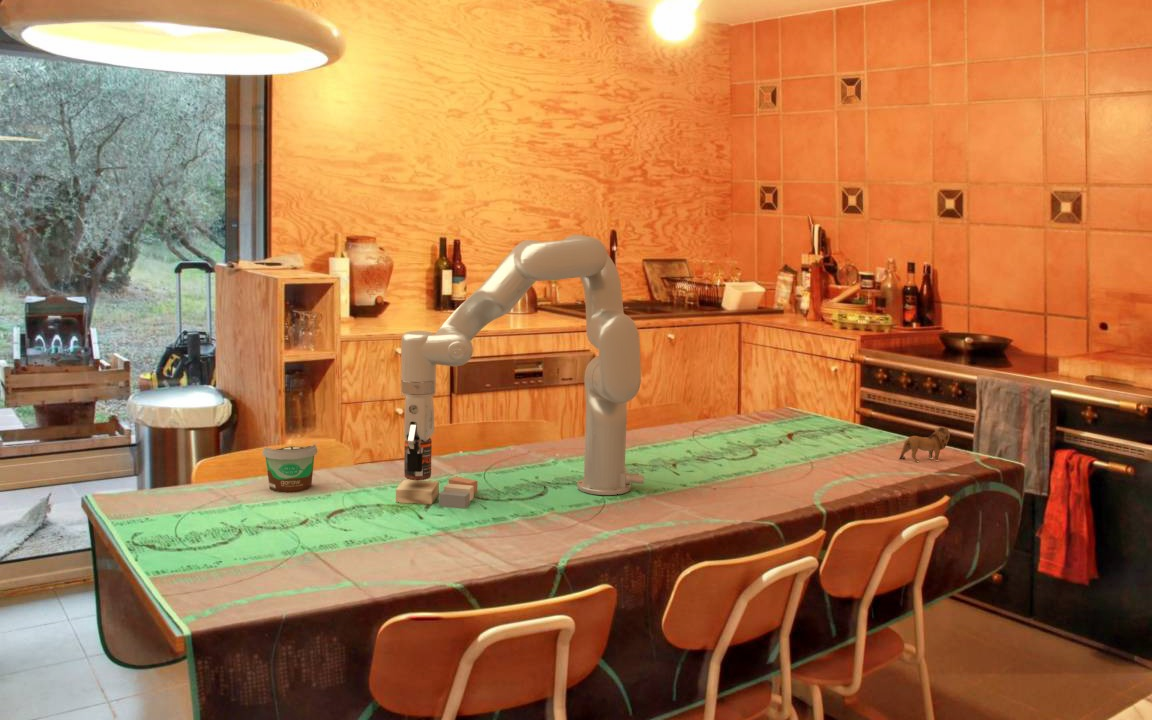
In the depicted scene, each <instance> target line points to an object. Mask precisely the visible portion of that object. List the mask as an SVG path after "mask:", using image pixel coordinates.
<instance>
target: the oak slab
mask: <svg viewBox="0 0 1152 720" xmlns="http://www.w3.org/2000/svg"><path fill="white" fill-rule="evenodd" d="M439 491H440V481H439V480H438V481H437V480H436V481H433V480H410V479H403V480H402V481H401V483H399V485H398V486H397V487H396V489H395V503H396V502H397V503H398V502H399V504H413V503H417V504H419V505H433V503H434V501H436V499H437V498H438V497H439V493H440V492H439ZM417 504H416V505H417Z"/></svg>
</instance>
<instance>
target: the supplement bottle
mask: <svg viewBox="0 0 1152 720" xmlns="http://www.w3.org/2000/svg"><path fill="white" fill-rule="evenodd" d="M415 439H417V440H419V437H415ZM415 444H417V446H418V443H415ZM407 450H408V441H407V440H406V439H405V438H404V462H403V463H404V468H403V469H404V473H403V474H404V477H405V478H406V480H419V481H427V480H428V479H430V478H431V476H432V450H433V449H432V438H431V437H430V438H429V439H428V440H427V441H423V440H422V444H421V454H422V471H421V472H413V471H408V470H407Z"/></svg>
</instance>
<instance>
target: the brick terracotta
mask: <svg viewBox="0 0 1152 720" xmlns="http://www.w3.org/2000/svg"><path fill="white" fill-rule="evenodd" d="M478 483H479V481H478V480H476V479H471V478H467V477H461V476H454V477H452V478H449V479H448V484H459V485H470V486H474V495H475V494H478V490H479V489H478V488H479V487H478Z"/></svg>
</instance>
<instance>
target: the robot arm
mask: <svg viewBox="0 0 1152 720" xmlns="http://www.w3.org/2000/svg"><path fill="white" fill-rule="evenodd" d="M576 278H579V279H580V281H581V283H582V286H583V287H582V288H583V292H584V293H583V294H584V300H585V321H586V322H585V323H586V326H585V327H586V336H587V340H588V341H589V342H590V344H591V345H592V346H593V347H594V348H596V349H597V350H598V355H597V356H594V357H593V358H592V359H591V360H590V361H589V362H588V364H587V366H586V368H585V371H584V380H583V382H584V393H585V431H584V432H585V434H584V435H585V436H584V465H583V467H584V469H583V478H582V479H580V480H578V481H577V484H576V487H577V489H578V490H580V492H583V493H586V494H591V495H595V496H596V495H599V496H616V495H617V494H618V495H622V494H626V493H629V492H630V491H631V489H632V487H631V486H632V484H637V485H639V484H640V485H644V482H645V481H644V480H645V479H644V478H645V475H640V474H639V473H630V472H629V471H628V472H627V467H626V450H627V449H626V447H627V423H628V420H627V419H628V409H627V407H628V405H627V403H628V402H631V400H633V399H634V398H635V397H636V396H637V394H638V393H639V391H640V387H641V382H642V366H641V364H642V363H641V345H640V344H641V342H640V339H641V338H640V334H639V329H638V327H637V324H636V323H635V321H634V320H633V319H632V318H631V317H630V316H629V315H627V314H625V312H624V305H623V304H624V303H623V302H624V301H623V293H622V284H621V283H622V281H621V278H620V274H619V270H618V269H617V267H616V264H615V263H614V261H613V259H612V258H611V257H610V255H609V254H608V250H607V248H606V245H605V244H604V243H603V242H602V241H601V240H600V239H598V238H596V237H593V236H587V235H584V234H571V235H569V236H566V237H565V238H564V239H563V240H561V239H560V240H551V241H546V240H545V241H539V240H534V239H525V240H523V241H520V242H519V243H518V244H516V246H514V248H513V249H512V250H511V251H510V252H509V253H508V255H506V256H505V258H504V259H503V260H502V261H501V262H500V264H499V265H498V266H497V267H496V268H495V269H494V270H493V272H492V273H491V274H490V275H489V276H488V277H487V278H486V279H485V280H484V282H483V283H482V284H481V285H480V286H479V287H478V288H477V289H476V290H475V291H474V292H472V293H471V295H470V296H468V297H467V298H466V299H465V300H464V301H463V302H462V303H461V304H460V305H459V306H458V307H457V308H456V309H454V311H453V312H452V313H451V315H449V317H448V318H447V319H446V320H445V321H444V322H443V323H442V325H441V326H440V327H439V328H438V330H436V333H435V334H434V333H433V332H430V331H426V330H412V331H410V330H409V331H406V332H404V333H403V334H402V336H401V341H400V343H401V345H400V353H401V354H400V357H401V358H400V360H401V361H400V362H401V363H400V364H401V365H400V369H401V370H400V371H401V372H400V373H401V374H400V375H401V376H400V385H401V386H400V390H401V391H400V394H401V396H403V397H405V399H404V423H403V424H404V426H403V427H404V428H403V429H404V432H403V433H404V440H405V439H406V440H407V441H408V450H407V470H408V471H413V472H421V471H422V454H421V444H422V440H423V441H427V440H428V439H429V438H431V437H432V436H433V435H434V434H435V409H434V408H435V406H434V396H436V394H437V393H436V391H437V390H436V387H437V386H436V384H437V382H436V381H437V379H436V378H437V365H440V366H446V367H460V366H463V365H465V364H467V363H468V362H469V361H470V360H471V358H472V357H473V355H474V347H473V343H472V340H473V339H474V338H475V337H476V336H477V335H478V334H479V333H480V332H481V330H483V328H485V326H487V325H489V324H490V323H492V322H493V321H494V320H497V319H499V318H502V317H503V316H505V315H507V314H508V313H510V312H511V311H512V309H513V308H515V306H516V305H517V304H518V302H519V301H521V299H522V298H523V296H525V294H526V293H528V290H530V289H531V288H532V286H533V285H534V284H536V282H545V281H546V282H547V281H557V280H558V281H559V280H565V279H567V280H568V279H576ZM415 437H419V440H417V439H415ZM415 443H418V446H417V444H415Z"/></svg>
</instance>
